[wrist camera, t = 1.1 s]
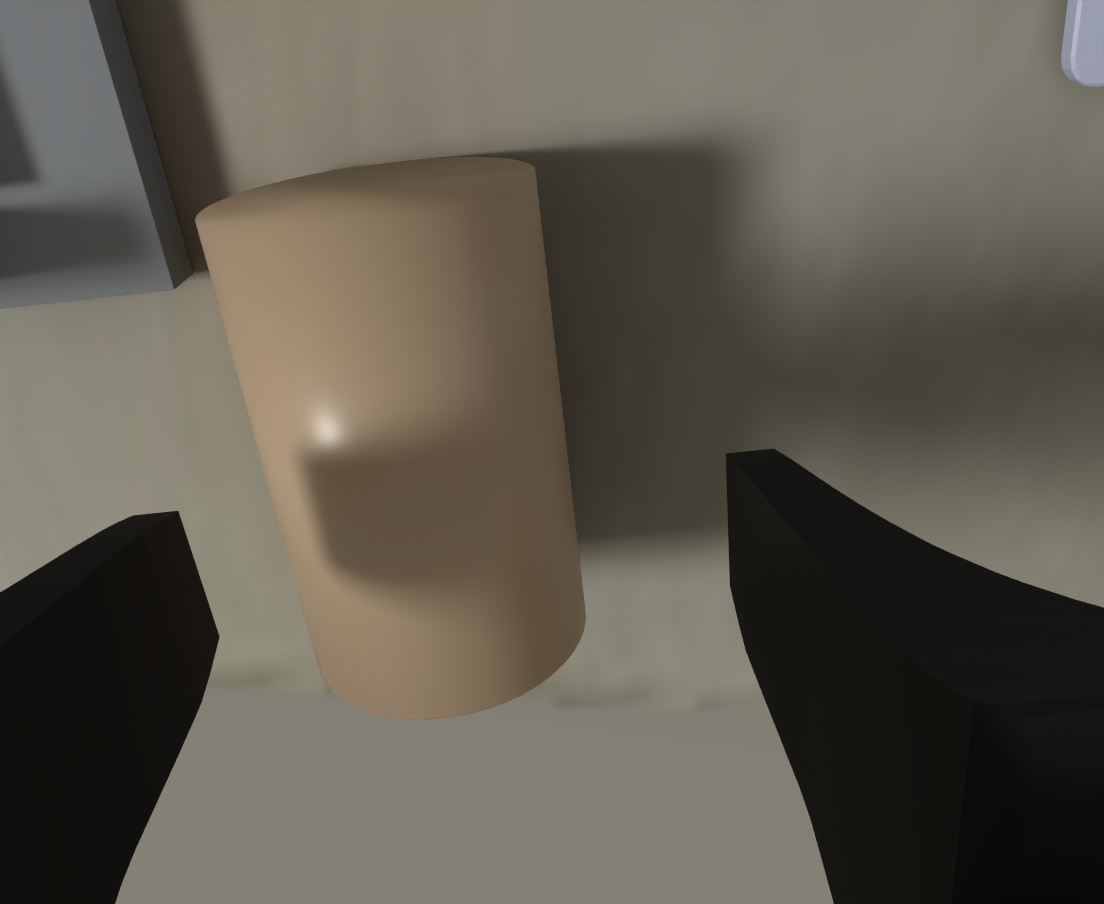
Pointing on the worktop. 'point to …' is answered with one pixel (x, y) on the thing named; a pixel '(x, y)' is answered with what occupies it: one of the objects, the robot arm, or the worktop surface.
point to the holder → (78, 161)
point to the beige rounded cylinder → (408, 424)
